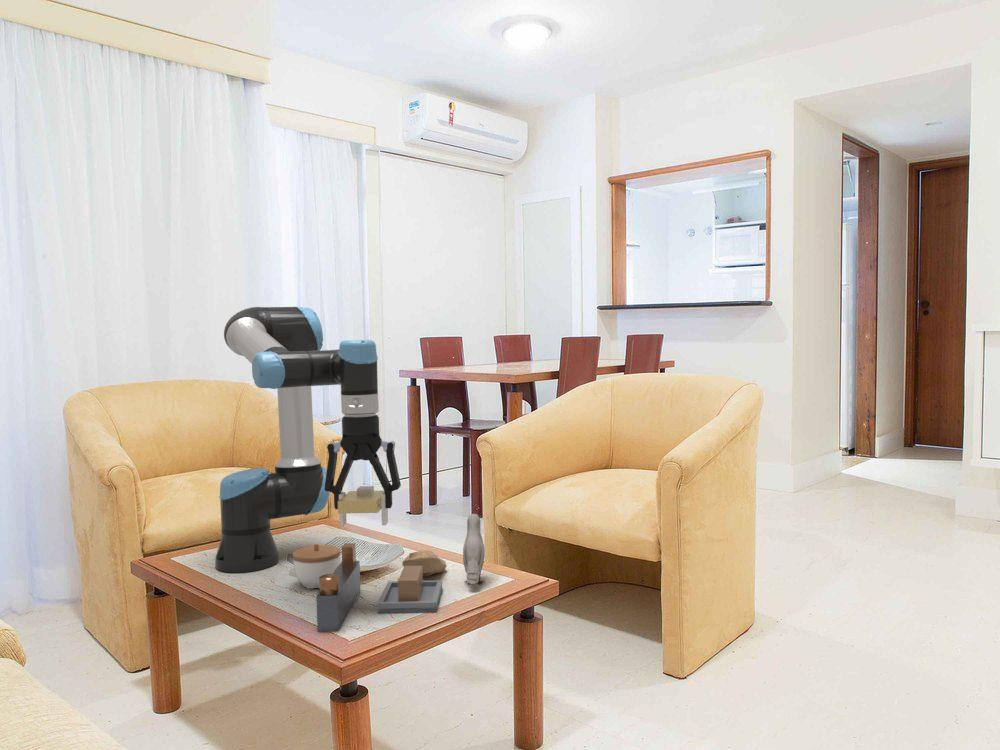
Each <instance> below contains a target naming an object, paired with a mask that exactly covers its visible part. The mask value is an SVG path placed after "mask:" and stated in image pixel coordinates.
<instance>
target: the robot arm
mask: <svg viewBox="0 0 1000 750" xmlns="http://www.w3.org/2000/svg"><path fill="white" fill-rule="evenodd" d="M223 337H224V342H225V344H226V345H227V347H228V348H229V349H230V350H231V352H233V353H235V354H236V355H239V356H242V357H244V359H246V360H247V361H248V362H249V363H250V364H251V373H252V375H251V376H252V380H253V381H254V385H255V386H256V387H257V388H259V389H271V390H273V389H274V390H276V389H277V409H278V410H277V411H278V413H277V414H278V427H279V428H278V430H279V432H278V435H279V449H280V450H279V452H280V455H279V456H280V458H279V460H278V461H277V462H276V463H275V464H274V472H272V473H270V472H269V470H268V469H267V468H264V467H258V468H257V467H256V468H248V469H244V470H239V471H235V472H233V473H230V474H228V475H226V476H224V477H223V478H222V479H221V481H220V484H219V496H218V497H219V501H220V504H219V505H220V521H221V522H220V524H221V526H220V527H221V538H220V541H219V545H218V547H217V551H216V554H215V560H214V561H215V563H214V564H215V569H216V570H217V571H220V572H223V573H232V574H233V573H234V574H235V573H237V574H238V573H249V572H250V573H251V572H256V571H260V570H265V569H267V568H270V567H272V566H274V565H277V564H278V562H279V560H280V557H279V550H278V547H277V544H276V542H275V539H274V537H273V535H272V534H273V533H272V531H271V520H275V519H283V518H289V517H295V516H302V515H304V516H308V515H310V514H316V513H319V512H321V511H322V510H324V509H325V508H326V505H327V504H328V500H329V497H330V493H332V494H333V506H334V510H338V501H339V500H340V499H341V498H342V497H344V496H345V495H346V494H347V492H345V491H343V488H344V486H345V483H346V480H347V478H348V476H349V474H350V470H351V469H352V465H353V463H354V462H355V461H356V462H357V461H360V460H362V461H369V463H370V465H371V466H372V468H373V470H374V473H375V475H376V477H377V479H378V481H379V483H380V485H381V487H382V489H383V490H382V491H383V492H382V493H381V510H380V511H381V526H387V524H388V523H389V514H388V512H389V511H388V509H391V508H392V507H393V492H394V491H398V490H399V488H401V486H402V484H401V479H400V475H399V474H400V473H399V470H398V465H397V464H398V463H397V461H396V457H395V448H396V442H395V441H393V440H392V441H391V440H390V441H387V440H386V441H385V440H383V439H382V438H381V436H380V420H379V419H380V417H379V415H378V414H377V413H379V412H380V409H379V408H380V407H379V391H378V389H379V386H378V385H379V384H378V351H377V345H376V342H375V341H374V340H372V339H351V340H345V339H344V340H341V341H340V343H339V347H338V348H339V349H329V350H328V349H324V350H322V349H323V346H324V345H323V342H324V333H323V328H322V323H321V321H320V318H319V315H318V314H317V313H316V312H315V311H314V309H312V308H310V307H305V306H303V307H302V306H301V307H300V306H252V307H248V308H244V309H242V310H240V311H238V312H236V313H235V314H234V315H232V316H231V317H230V318H229V319H228V321H227V323H226V324H225V326H224V330H223ZM337 385H339V386H340V402H341V404H340V406H341V408H340V409H341V414H343V415H344V416H342V417H341V431H342V432H341V433H342V435H341V436H342V437H341V439H340V441H338V442H331V443H328V444H327V446H326V448H327V453H328V458H327V459H328V460H327V466H326V467H323V466H322V462H321V460H319V459H318V457H316V455H315V440H314V439H315V437H314V436H315V435H314V417H313V398H312V397H313V396H312V395H313V394H312V387H319V386H320V387H321V386H337ZM381 447H382V448H383V451H384V452H385V455H386V462H387V465H388V470H389V471H388V472H389V475H390V480H391V482H390V480H389V478H388V476H387V474H386V470H384V467H383V465H382V464H381V461H380V457H379V456H378V454H377V452H378V451H379V450H380V448H381ZM341 448H342V450H343V451H344V452H345V454H346V457H345V459H344V463H343V465H342V468H341V470H340V472H339V476H338V478H337V481H336V482H335V478H336V477H335V475H336V468H337V463H338V453H340V450H341ZM334 483H335V484H334ZM347 521H348V520H347V513H344V514H339V527H345V525H346V524H347V523H348V522H347Z"/></svg>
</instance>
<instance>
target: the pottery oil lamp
mask: <svg viewBox="0 0 1000 750" xmlns="http://www.w3.org/2000/svg"><path fill="white" fill-rule="evenodd" d="M401 564H402V566H403V567H404V566H423V577H429V576H432V575H433V574H440V573H443V572H444V571H445V570H446V569H447V567H448V565H447V564H446V561H445V560H443V559H442V558H440V557H438V555H436V554H435V553H434V552H433V551H432V550H428V549H424V550H418V551H417V550H416V551H414V552H410V553H409V554H408V555H407V556H406V557H405V558H404V560H403V561H402V563H401Z"/></svg>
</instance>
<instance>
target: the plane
mask: <svg viewBox="0 0 1000 750" xmlns="http://www.w3.org/2000/svg"><path fill="white" fill-rule="evenodd" d="M356 548H357V547H356V542H355V543H353V542H352V543H349V542H347V543H343V545H342V546H341V560H340V564H339V566H338V567H337V568H336V570H335V571H334V572H333V574H326V575H322V576H320V577H319V587H320V588H319V592H318V593H317V594H316V596H315V597H316V598H315V599H316V623H317V625H316V626H317V627H316V628H317V632H318V633H324V632H326V633H327V632H339V631H340V629H342V626H343V625H344V622H345V621H346V619H347V617H348V615H349V613H350V611H351V610H352V608H353V606H354V605H355V603H356V601H357V599H358V598H359V596H360V594H361V592H362V591H361V566H360V565H361V564H360V563H361V562H360V560H357V556H356V555H357V553H356V552H357V549H356ZM320 631H321V632H320ZM322 631H324V632H322Z"/></svg>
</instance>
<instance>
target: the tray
mask: <svg viewBox="0 0 1000 750" xmlns="http://www.w3.org/2000/svg"><path fill="white" fill-rule="evenodd" d="M442 591H443V580H442V579H440V580H437V579H436V580H434V579H433V580H431V579H429V580H424V576H423V566H403V568H402V571H401V572H400V575H399V577H398V579H397V580H392V581H391V580H389V581H387V583H386V584H385V587H384V590H383V591H382V593H381V595H380V597H379V599H378V602H377V606H376V607H377V614H409V613H410V614H413V613H414V614H415V613H422V614H423V613H424V614H425V613H437V611H438V608H439V604H440V601H441V600H440V599H441V596H442V593H443V592H442Z"/></svg>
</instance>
